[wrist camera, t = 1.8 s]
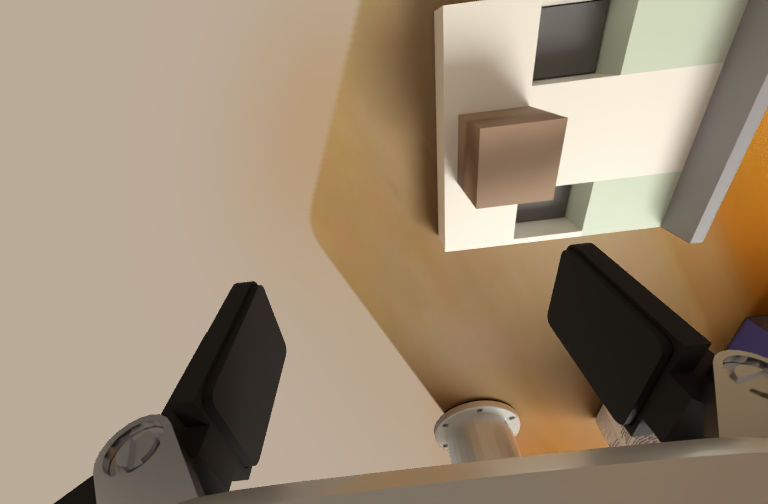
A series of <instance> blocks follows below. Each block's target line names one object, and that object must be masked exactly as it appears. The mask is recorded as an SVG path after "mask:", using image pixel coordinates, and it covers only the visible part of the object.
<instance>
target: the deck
mask: <svg viewBox="0 0 768 504" xmlns="http://www.w3.org/2000/svg"><path fill="white" fill-rule="evenodd" d="M583 1H591V0H482V1H475V2H467V3H459V4H451V5H443V6H442V7H440V8H439V9H437V10H435V11H434V34H435V84H436V134H437V185H438V235H439V238H440V241H441V243H442V246H443V248H444V250H445V252H450V251H458V250H467V249H475V248H484V247H492V246H501V245H509V244H518V243H526V242H535V241H543V240H552V239H560V238H569V237H577V236H586V235H594V234H602V233H611V232H619V231H628V230H636V229H645V228H653V227H662V228H664V229H665V230H667V231H669V232H671V233H672V234H674V235H676V236H677V237H679V238H681V239H683V240H684V241H686V242H688V243H690V244H692V243H700V242H703V240H704V238H705V236H706V234H707V232H708V230H709V228H710V226H711V224H712V221H713V219H714V217H715V215H716V213H717V211H718V209H719V207H720V205H721V203H722V201H723V199H724V196H725V194H726V192H727V190H728V188H729V186H730V184H731V182H732V180H733V178H734V176H735V174H736V171H737V169H738V167H739V165H740V163H741V161H742V159H743V157H744V155H745V153H746V151H747V149H748V146H749V144H750V142H751V140H752V138H753V136H754V134H755V132H756V130H757V128H758V126H759V124H760V121H761V119H762V117H763V115H764V113H765V111H766V109H767V107H768V0H603V1H595V2H587V3H579V4H572V5H564V6H556V7H548V8H541V7H544V6H552V5H560V4H568V3H576V2H583ZM591 72H594V73H591ZM583 73H591V74H583ZM575 74H583V75H575ZM567 75H575V76H567ZM558 76H566V77H558ZM550 77H558V78H550ZM542 78H550V79H542ZM534 79H542V80H534ZM533 80H534V81H533ZM526 106H531V107H534V108H537V109H541V110H544V111H547V112H551V113H554V114H557V115H560V116H564V117H567V118H568V121H567V126H566V132H565V137H564V143H563V148H562V154H561V159H560V165H559V170H558V176H557V181H556V187H555V192H554V198H553V200H548V201H539V202H531V203H523V204H514V205H506V206H498V207H489V208H481V209H476V208H475V207H474V205H473V204H472V203H471V201H470V200H469V198H468V197H467V196H466V194H465V193H464V192H463V190H462V189H461V187H460V186H459V185H458V183H457V172H458V115H461V114H469V113H477V112H485V111H493V110H502V109H510V108H518V107H526Z"/></svg>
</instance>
